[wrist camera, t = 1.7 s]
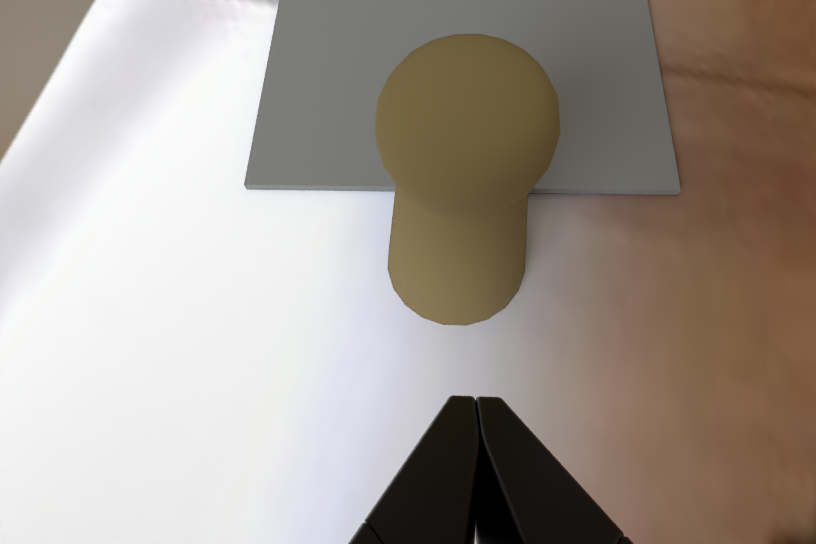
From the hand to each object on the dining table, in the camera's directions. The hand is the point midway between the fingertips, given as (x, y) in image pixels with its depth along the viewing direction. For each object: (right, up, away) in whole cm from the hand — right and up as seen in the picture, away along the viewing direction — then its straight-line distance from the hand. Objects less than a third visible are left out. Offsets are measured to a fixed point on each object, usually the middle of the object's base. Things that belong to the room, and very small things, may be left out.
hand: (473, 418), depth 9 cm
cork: (+1, +3, +15) cm, 15 cm away
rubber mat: (+2, +14, +19) cm, 24 cm away
